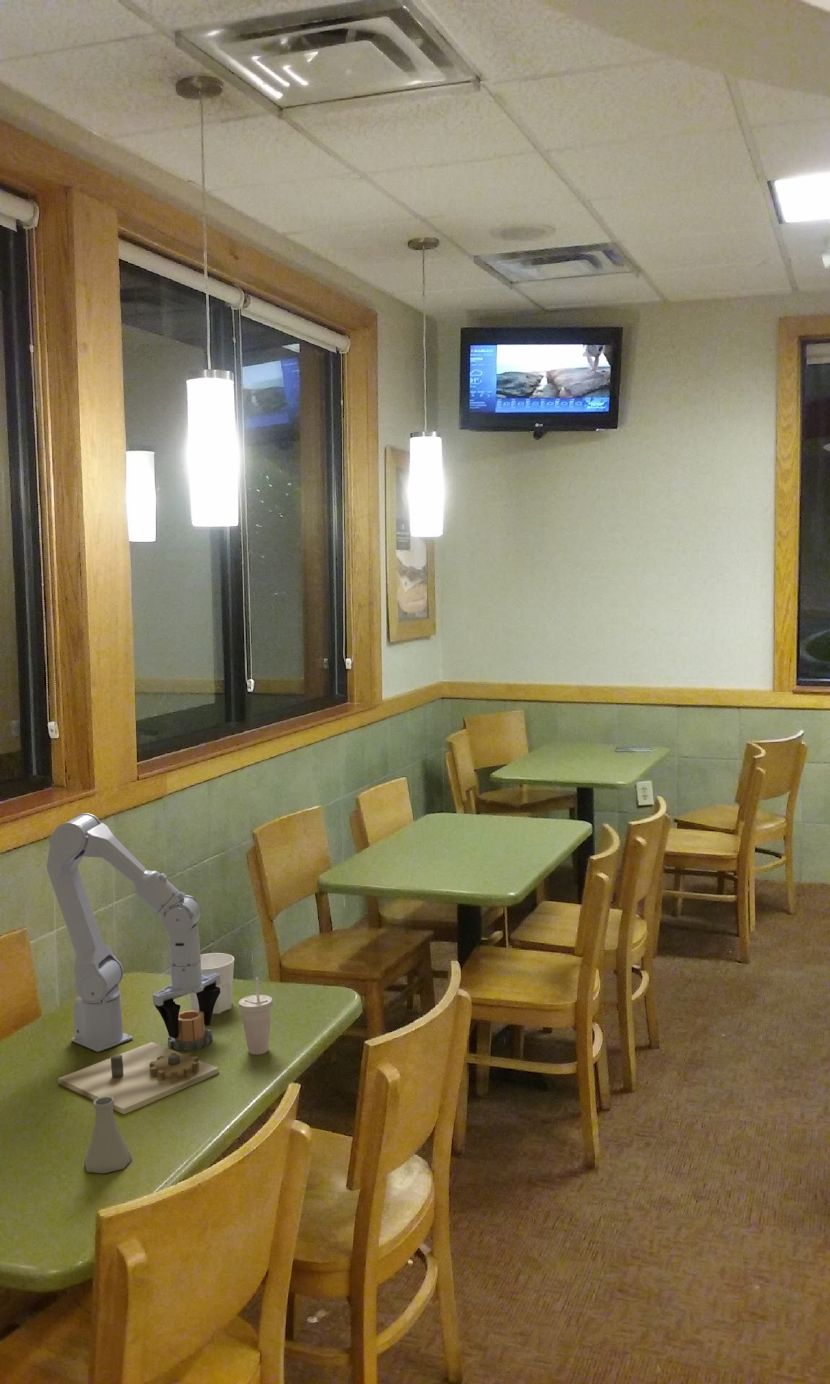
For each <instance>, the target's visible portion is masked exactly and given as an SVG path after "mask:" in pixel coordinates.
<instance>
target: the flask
mask: <svg viewBox="0 0 830 1384" xmlns="http://www.w3.org/2000/svg"><path fill="white" fill-rule="evenodd" d="M113 1104H114V1098H113V1097H109V1096H104V1097H100V1098H97V1099H95V1100H92V1105H93V1107H94V1109H95V1110H94V1111H95V1116H94V1117H95V1118H94V1127H93V1130H92V1134H91V1139H90V1141H89V1142H90V1143H89V1145H88V1149H87V1152H86V1155H85V1159H84V1162H83V1164H84V1165H83V1166H84V1168H85V1171H86V1173H94V1174H96V1173H97V1174H107V1173H111V1172H116V1171H119V1170H120V1171H121V1170H124V1169H125V1167H127V1166H128V1165H129V1164H130V1162H131V1161H132V1160H133V1159H132V1156H131V1153H130V1150H129V1148H128V1146H127V1144H126V1141H125V1140H124V1138H123V1136H122V1133H121V1131H120V1130H119V1127H118V1124H117V1122H116V1118H115V1114H114V1110H113Z"/></svg>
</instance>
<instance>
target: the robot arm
mask: <svg viewBox="0 0 830 1384" xmlns="http://www.w3.org/2000/svg"><path fill="white" fill-rule="evenodd" d="M48 844H49V851H48V856H47V863H46V869H47V873H48V876H49V878H50V882H51V885H52V887H53V891H54V893H55V896H56V899H57V902H58V905H59V907H60V911H61V913H62V917H63V920H64V923H65V925H66V928H67V931H68V934H69V937H70V941H71V942H72V946H73V949H74V951H75V960H74V964H73V965H74V967H73V971H74V974H75V984H74V988H75V991H76V994H77V997H76V999H75V1001H74V1004H73V1008H72V1011H73V1012H72V1013H73V1023H74V1024H73V1025H74V1026H73V1027H74V1036H73V1037H71V1041H72V1042H74V1043H76V1044H78V1045H81V1046H83V1047H85V1048H87V1049H90V1050H93V1051H95V1052H97V1053H99V1052H102V1051H104V1050H107V1049H110V1048H113V1047H115V1046H117V1045H120V1044H123V1043H125V1042H129V1041H131V1040H133V1036H132V1035H130V1034H129V1033H128V1034H127V1033H125V1032H124V1029H123V1028H124V1027H123V1014H122V1002H121V1001H122V1000H121V990H120V988H119V983H120V982H121V981H122V979H123V977H124V967H123V965H122V963H121V961H120V960H118V959H117V957H116V956H115V955H114V952H113V949H112V947H110V946H109V945H107V944H105V942H104V940H103V937H102V934H101V932H100V928H99V926H98V923H97V920H96V917H95V914H94V911H93V909H92V905H91V902H90V899H89V897H88V894H87V891H86V888H85V885H84V883H83V880H82V877H81V873H80V870H79V865H80V863H81V861H82V860H83V858H102V859H104V860H105V861H106V862H107V863H109V864H110V865H111V866H112V867H114V869H116V870H117V871H119V872H120V874H122V875H123V876H124V877H126V878H127V879H128V880H129V881H130V882H131V883H133V884H134V891H135V895H137V896H138V897H139V898H140V899H141V900H142V901H143V902H145V904H146V905H148V906H149V907H150V909H152V910H153V911H154V912H155V913H157V915H158V916H160V917H161V918H163V919H162V920H161V921H162V926H163V927H164V929H165V930H166V931H167V933H168V950H169V966H170V982H171V984H169V985H167V986H165V987H164V988H162V989H160V990H159V991H157V992H154V993H152V1004H153V1005H154V1007H155V1009H156V1010H157V1011H158V1013H159V1014H160V1017H161V1018H162V1021H163V1022H164V1025H165V1027H166V1031H167V1034H168V1037H172V1038H175V1039H176V1038H178V1035H179V1027H178V1018H179V1013H180V1010H181V1005H180V1004H177V1003H176V1001H174V1000H175V999H178V998H181V997H184V996H186V995H190V993H193V992H194V993H196V995H197V999H198V1003H199V1011H201V1012H203V1013H204V1025H205V1026H206V1027H208V1026H211V1023H212V1017H213V1014H212V1013H213V1009H214V1005H215V1003H216V1000H217V998H218V996H219V994H220V988H219V987H216V985H219V984H220V974H217V973H211V974H207V975H201V958H200V955H201V946H200V945H201V944H200V935H199V933H200V932H199V923H198V921H199V920H200V919H201V915H202V907H201V905H200V903H199V902H198V901H197V899H196V897H194V896H192V895H189V894H186V893H185V892H184V891H179V889H177V888H176V887H175V886H174V885H173V884H172V883H171V882H170V881H169V880H168V876H167V874H166V873H165V872H162V873H160V872H159V871H158V870H148V869H146V867H145V866H144V865H143V864H142V863H141V862H140V861H139V860H138V859H137V858H136V857H135V855H133V854H132V853H131V852H130V851H129V850H128V848H126V847H125V846H124V845H123V844H122V843H121V842H120V841H119V840H118V839H117V838H116V837H115V835H114V834H113V832H112V831H111V829H110V828H109V826H107V825H106V824H105V823H103V822H101V820H100V819H99V818H98V817H97V816H96V815H94V814H91V813H88V812H83V813H80V814H78V815H76V816H75V817H73V818H72V819H70V820H68V821H66V822H64V823H63V822H62V823H61V824H59V825H58V826H57V827H56V828H55V829H54V831H53V832H52V834H51V835H50V837H49V838H48Z"/></svg>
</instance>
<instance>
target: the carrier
mask: <svg viewBox="0 0 830 1384" xmlns="http://www.w3.org/2000/svg"><path fill="white" fill-rule="evenodd" d="M219 1073H220V1072H219V1067H217V1066H214V1065H212V1064H209V1063H206V1062H204V1061H201V1060H199V1057H198V1056H197V1055H195V1056H194V1055H193V1056H191V1053H188V1052H185V1053H184V1054H183V1053H181V1052H179V1051H177V1050H173V1049H171V1048H170V1047H169V1048H168V1047H166V1046H164V1045H162V1044H158V1043H155V1042H153V1041H150V1042H148V1043H145V1044H143V1045H139V1046H138V1047H135V1048H132V1049H129V1050H127V1051H125V1052H122V1053H120V1054H115V1055H112V1056H110V1058H106V1059H103V1060H102V1061H99V1062H97V1063H93V1064H92V1065H89V1066H86V1067H83V1068H82V1069H79V1070H76V1071H74V1072H70V1073H68V1074H65V1075H63V1076H61V1077H58V1079H57V1080H58V1085H61V1086H63V1087H65V1088H68V1089H69V1090H71V1091H74V1092H75V1093H77V1094H79V1095H81V1096H84V1097H86V1098H88V1099H90V1100H92V1101H94V1100H95V1099H97V1098H100V1097H104V1096H109V1097H113V1098H114V1104H113V1111H116V1112H118V1113H120V1114H121V1115H126V1114H129V1113H131V1112H133V1111H137V1110H138V1109H140V1108H142V1107H145V1106H147V1105H149V1104H152V1103H154V1102H157V1101H158V1100H161V1099H163V1098H166V1097H167V1096H170V1095H172V1094H175V1093H176V1092H180V1091H181V1090H184V1089H185V1088H186V1089H187V1088H189V1087H190V1086H192V1085H193V1086H194V1085H196V1084H197V1083H198V1084H199V1083H200V1082H202V1081H204V1080H206V1079H209V1078H211V1077H213V1076H217V1075H219Z"/></svg>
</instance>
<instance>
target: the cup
mask: <svg viewBox="0 0 830 1384" xmlns="http://www.w3.org/2000/svg"><path fill="white" fill-rule="evenodd" d="M200 958H201V975H207V974H211V973H217V974H220V984H219V985H216V987H219V988H220V994H219V996H218V998H217V1000H216V1003H215V1005H214V1009H213V1013H212V1015H214V1014H216V1015H217V1014H218V1015H219V1014H221V1013H222V1012H225V1011H227V1010H231V1009H232V1005H233V1004H232V1003H233V979H234V968H235V967H234V966H235V957H234V956H233V955H231V954H229V953H223V952H210V953H203V954H200ZM189 997H190V1003H191V1004H190V1005H191V1010H198V1011H199V1003H198V999H197V995H196V993H194V992H193V993H190V994H189Z"/></svg>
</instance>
